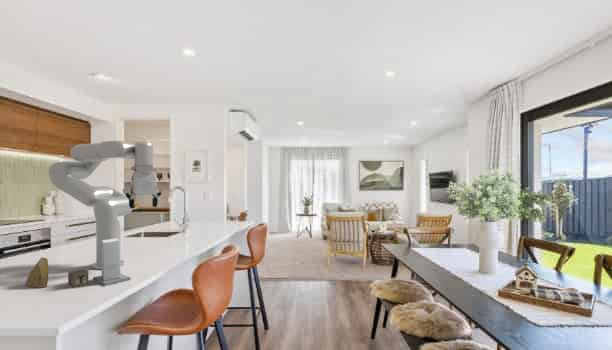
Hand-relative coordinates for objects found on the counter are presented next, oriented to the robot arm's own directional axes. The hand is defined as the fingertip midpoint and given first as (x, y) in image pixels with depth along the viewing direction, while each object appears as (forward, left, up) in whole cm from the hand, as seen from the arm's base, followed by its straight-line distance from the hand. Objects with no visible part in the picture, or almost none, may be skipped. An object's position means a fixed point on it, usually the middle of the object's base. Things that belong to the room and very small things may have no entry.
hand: (143, 207), depth 144 cm
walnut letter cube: (+3, -26, -27) cm, 38 cm away
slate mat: (+7, -16, -27) cm, 32 cm away
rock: (-9, -36, -27) cm, 46 cm away
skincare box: (+7, -16, -26) cm, 32 cm away
